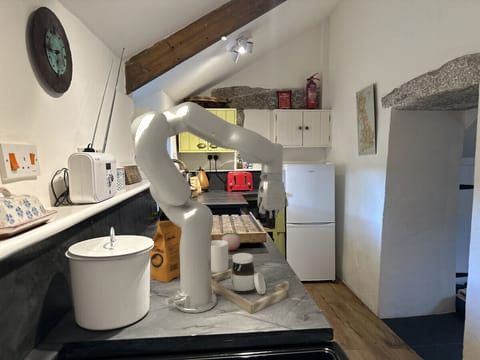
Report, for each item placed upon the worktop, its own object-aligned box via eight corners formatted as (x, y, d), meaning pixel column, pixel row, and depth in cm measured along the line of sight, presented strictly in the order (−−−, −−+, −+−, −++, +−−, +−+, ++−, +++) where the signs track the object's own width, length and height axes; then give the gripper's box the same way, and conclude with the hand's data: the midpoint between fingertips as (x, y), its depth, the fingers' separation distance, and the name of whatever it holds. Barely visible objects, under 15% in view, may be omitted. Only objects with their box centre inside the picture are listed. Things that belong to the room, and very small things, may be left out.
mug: (235, 263, 122) (234, 239, 121) (222, 274, 111) (222, 247, 110) (217, 261, 125) (216, 237, 124) (203, 271, 114) (202, 244, 113)
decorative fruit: (223, 255, 133) (223, 233, 132) (220, 249, 141) (220, 229, 140) (243, 253, 135) (242, 232, 135) (239, 247, 143) (238, 228, 143)
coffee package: (146, 279, 107) (144, 221, 105) (169, 267, 118) (167, 215, 116) (166, 284, 103) (164, 224, 101) (188, 272, 113) (187, 217, 112)
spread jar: (229, 283, 103) (229, 252, 102) (260, 281, 105) (260, 250, 104) (234, 300, 91) (234, 264, 90) (269, 297, 93) (269, 262, 92)
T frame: (250, 314, 83) (250, 305, 83) (204, 284, 103) (204, 277, 102) (296, 292, 96) (296, 285, 95) (247, 269, 115) (247, 263, 115)
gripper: (263, 179, 95) (262, 233, 97) (293, 177, 105) (292, 227, 106) (249, 177, 101) (248, 229, 102) (278, 176, 111) (277, 224, 112)
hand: (270, 228), depth 104 cm, fingers closed
